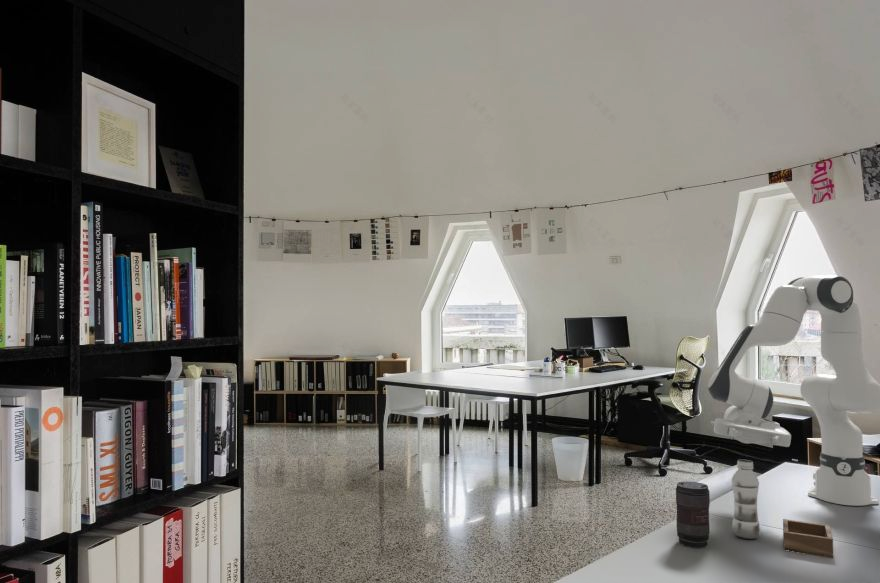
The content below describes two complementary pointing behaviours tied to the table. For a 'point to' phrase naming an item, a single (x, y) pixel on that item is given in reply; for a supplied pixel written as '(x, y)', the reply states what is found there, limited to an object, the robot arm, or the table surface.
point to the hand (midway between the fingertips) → (756, 438)
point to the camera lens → (692, 514)
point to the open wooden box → (807, 538)
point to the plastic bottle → (745, 501)
